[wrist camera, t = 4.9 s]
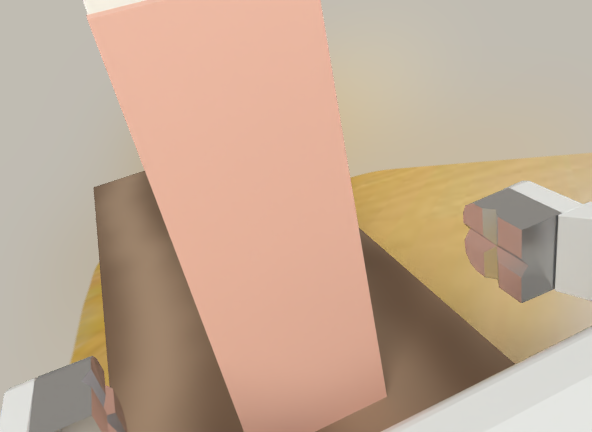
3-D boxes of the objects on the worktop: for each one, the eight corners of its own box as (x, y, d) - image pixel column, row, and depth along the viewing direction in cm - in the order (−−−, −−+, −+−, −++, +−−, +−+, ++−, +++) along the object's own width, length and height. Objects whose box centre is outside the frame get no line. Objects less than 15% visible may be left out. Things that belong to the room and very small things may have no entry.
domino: (365, 367, 19) (288, -36, 13) (387, 396, 18) (314, -38, 11) (242, 425, 18) (86, 15, 12) (255, 461, 17) (87, 19, 10)
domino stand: (277, 230, 50) (252, 135, 45) (550, 570, 21) (562, 405, 16) (136, 284, 47) (93, 187, 42) (231, 772, 18) (130, 640, 13)
